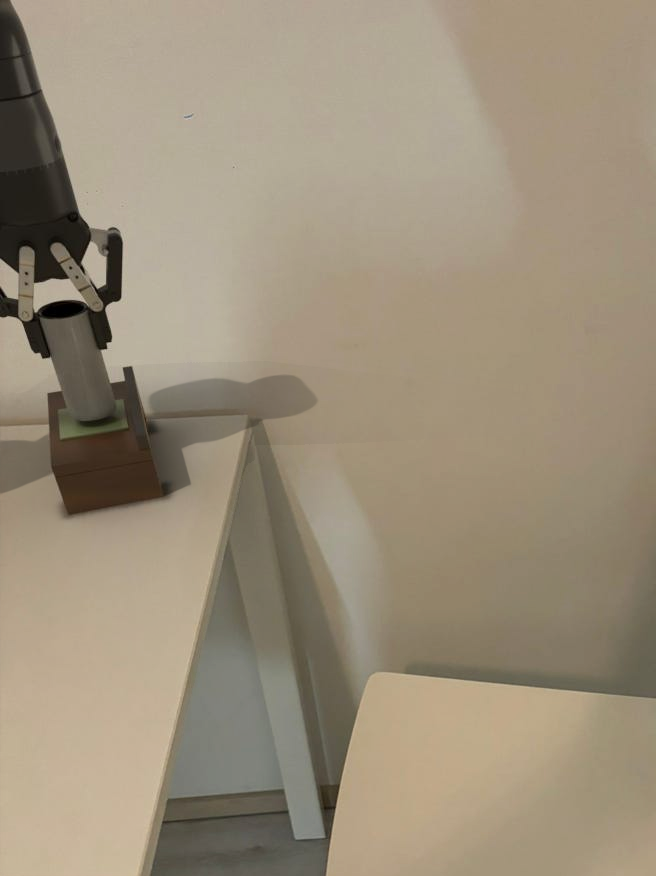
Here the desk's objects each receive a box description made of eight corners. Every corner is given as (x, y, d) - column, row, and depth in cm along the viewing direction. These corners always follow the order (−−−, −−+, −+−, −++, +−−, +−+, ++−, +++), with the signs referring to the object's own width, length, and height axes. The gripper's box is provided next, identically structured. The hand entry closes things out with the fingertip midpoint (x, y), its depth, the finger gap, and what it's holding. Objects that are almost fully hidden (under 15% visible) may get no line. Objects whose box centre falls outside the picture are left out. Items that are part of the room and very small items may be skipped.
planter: (60, 419, 92) (26, 316, 85) (84, 398, 95) (53, 297, 88) (102, 423, 91) (71, 320, 84) (125, 402, 94) (97, 301, 88)
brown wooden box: (64, 443, 102) (42, 379, 97) (148, 429, 104) (132, 365, 100) (70, 520, 91) (45, 452, 86) (164, 502, 93) (146, 434, 88)
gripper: (101, 135, 82) (148, 325, 93) (-76, 152, 79) (-5, 347, 90) (107, 157, 77) (156, 355, 88) (-83, 175, 73) (-7, 379, 84)
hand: (74, 350), depth 89 cm, fingers closed on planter, 4 cm apart
